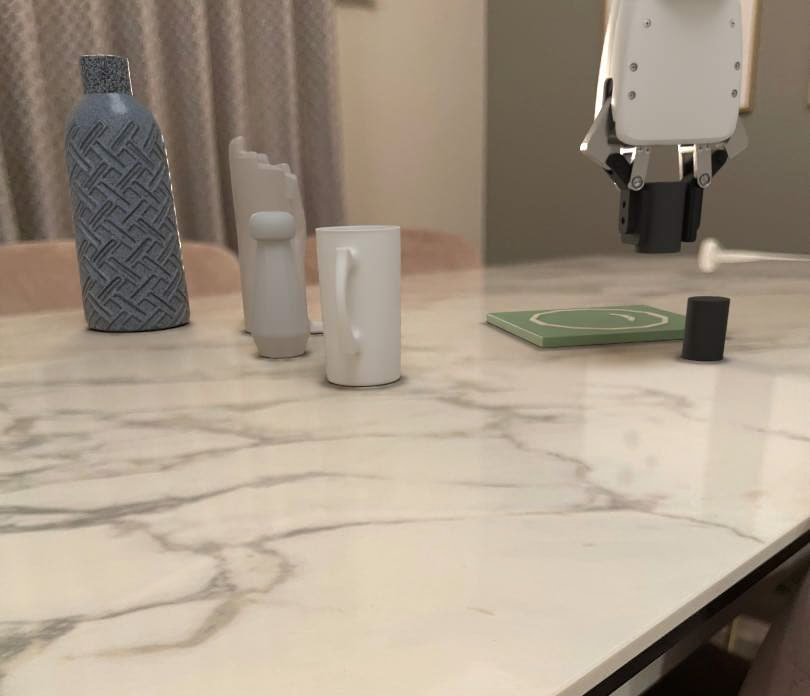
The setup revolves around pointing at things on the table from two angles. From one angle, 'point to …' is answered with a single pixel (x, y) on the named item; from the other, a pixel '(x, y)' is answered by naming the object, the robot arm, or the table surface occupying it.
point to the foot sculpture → (264, 192)
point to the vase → (122, 206)
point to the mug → (360, 303)
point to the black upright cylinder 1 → (664, 217)
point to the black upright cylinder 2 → (705, 328)
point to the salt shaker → (277, 288)
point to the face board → (591, 325)
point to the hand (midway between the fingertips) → (658, 240)
